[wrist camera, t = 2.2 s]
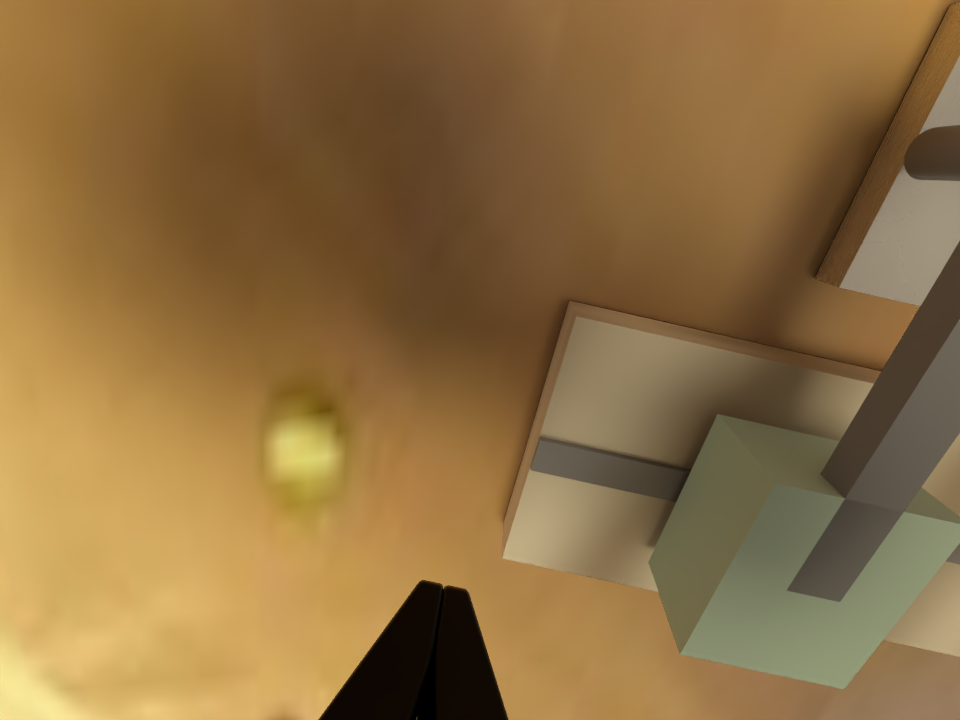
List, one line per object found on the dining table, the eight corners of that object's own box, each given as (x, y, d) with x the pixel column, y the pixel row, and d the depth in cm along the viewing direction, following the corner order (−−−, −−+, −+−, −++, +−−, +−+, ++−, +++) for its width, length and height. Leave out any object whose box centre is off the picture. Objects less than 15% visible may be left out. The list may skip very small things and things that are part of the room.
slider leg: (1040, 150, 10) (1278, 141, 7) (774, 579, 14) (843, 689, 11) (849, 105, 9) (1003, 75, 6) (644, 551, 14) (679, 654, 11)
